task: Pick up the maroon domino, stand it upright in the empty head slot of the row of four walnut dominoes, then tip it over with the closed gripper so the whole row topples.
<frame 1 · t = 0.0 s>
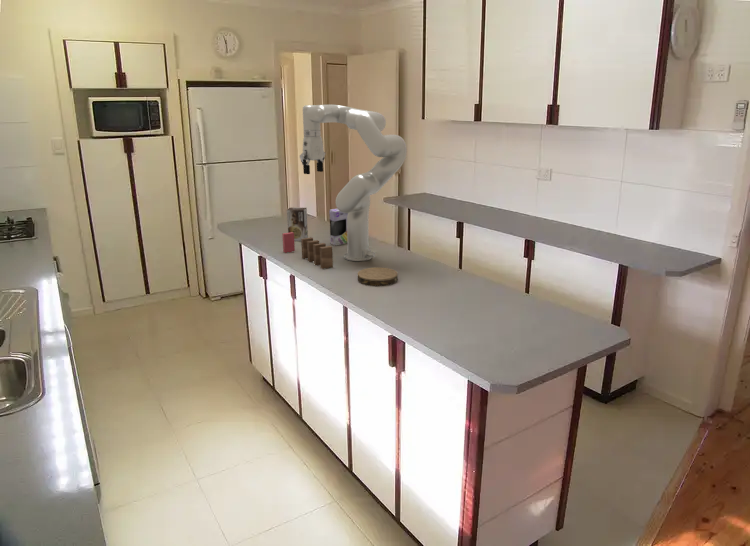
hand: (313, 172, 247), 37 cm above the countertop, tool pointing down, fingers open, 9 cm apart
domino 5: (326, 267, 232), on the countertop
domino 3: (313, 260, 242), on the countertop
domino 4: (320, 264, 237), on the countertop
cake pan box: (346, 242, 273), on the countertop
maroon domino: (289, 251, 256), on the countertop
domino 2: (307, 257, 246), on the countertop
wooden log slice: (377, 280, 216), on the countertop
coffee box: (298, 239, 279), on the countertop
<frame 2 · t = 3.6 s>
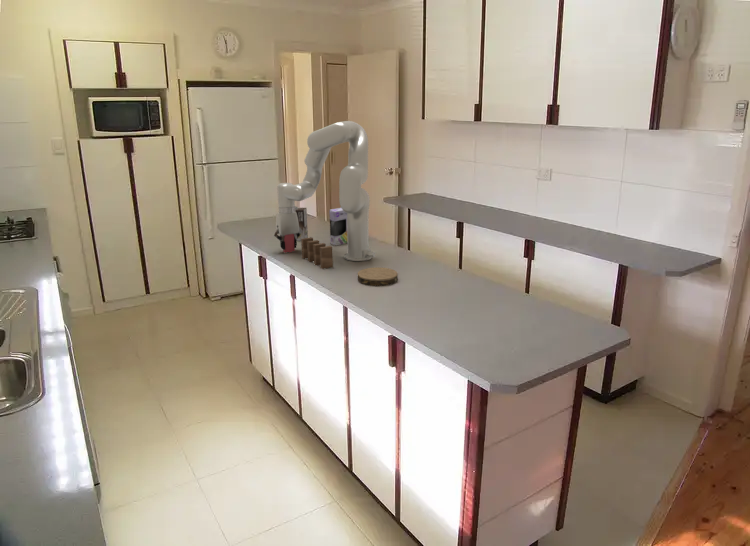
hand: (288, 247, 255), 2 cm above the countertop, tool pointing down, fingers closed on maroon domino, 4 cm apart
maroon domino: (289, 251, 256), on the countertop, touching gripper
everything else where it was.
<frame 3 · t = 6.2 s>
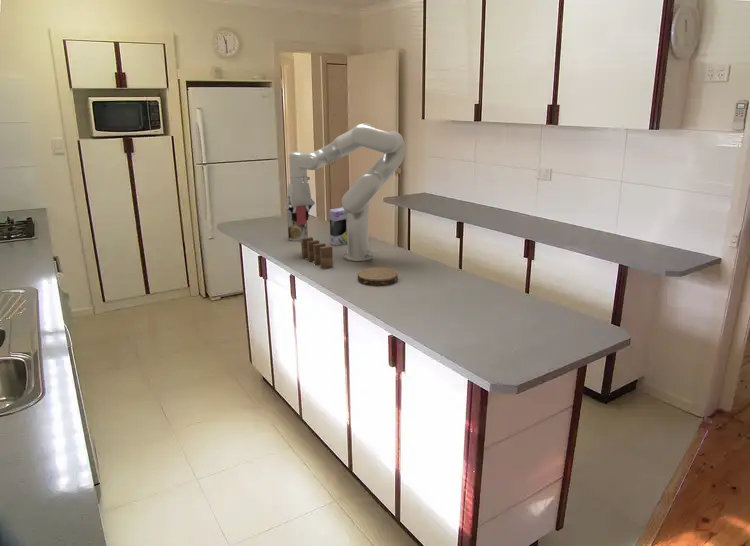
hand: (300, 220, 246), 16 cm above the countertop, tool pointing down, fingers closed on maroon domino, 4 cm apart
maroon domino: (300, 224, 247), point 14 cm above the countertop, touching gripper
everything else where it was.
when the fingers open (3 cm above the countertop, at t = 8.9 s): maroon domino stays where it is, on the countertop.
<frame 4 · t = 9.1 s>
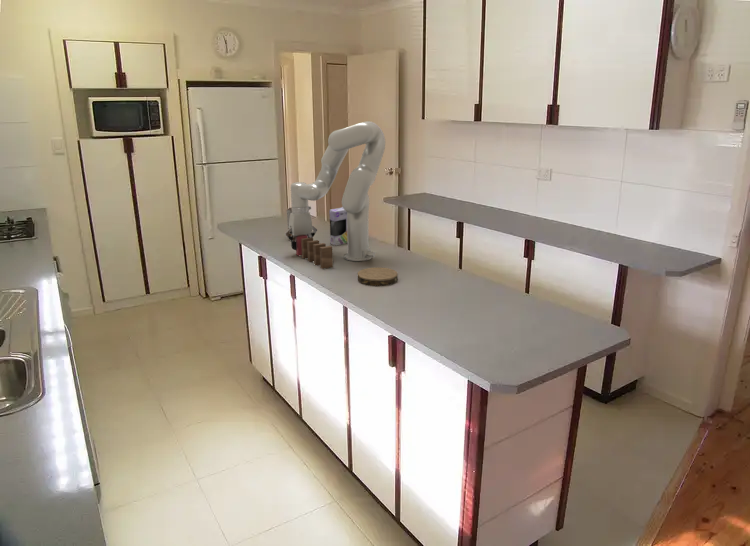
hand: (301, 247, 250), 3 cm above the countertop, tool pointing down, fingers open, 7 cm apart
maroon domino: (302, 254, 251), on the countertop
everything else where it was.
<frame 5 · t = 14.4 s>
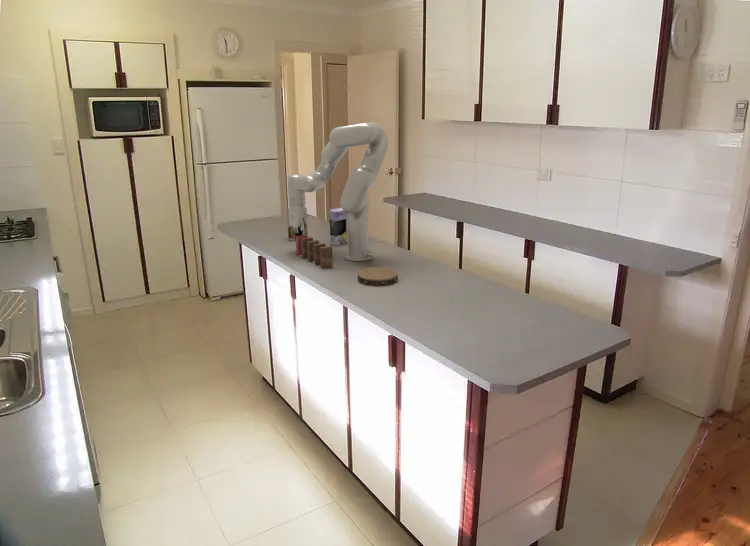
hand: (299, 240, 252), 6 cm above the countertop, tool pointing down, fingers closed
maroon domino: (302, 254, 251), on the countertop, touching gripper
everything else where it was.
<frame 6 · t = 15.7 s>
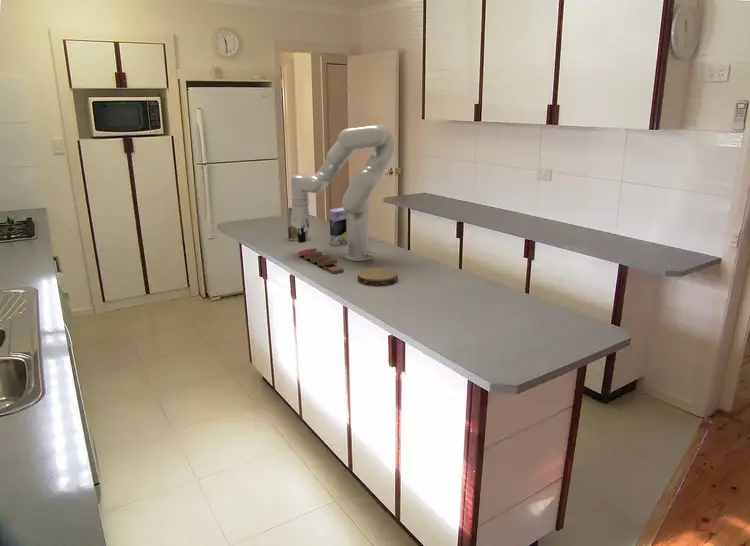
hand: (301, 242, 249), 6 cm above the countertop, tool pointing down, fingers closed
domino 5: (328, 266, 231), point 1 cm above the countertop, tilted 90°, touching domino 4
domino 3: (315, 259, 240), point 1 cm above the countertop, tilted 72°, touching domino 2
domino 4: (322, 263, 235), point 1 cm above the countertop, tilted 72°, touching domino 5
maroon domino: (303, 253, 250), point 1 cm above the countertop, tilted 70°, touching domino 2
domino 2: (309, 256, 245), point 1 cm above the countertop, tilted 71°, touching domino 3, maroon domino
everything else where it was.
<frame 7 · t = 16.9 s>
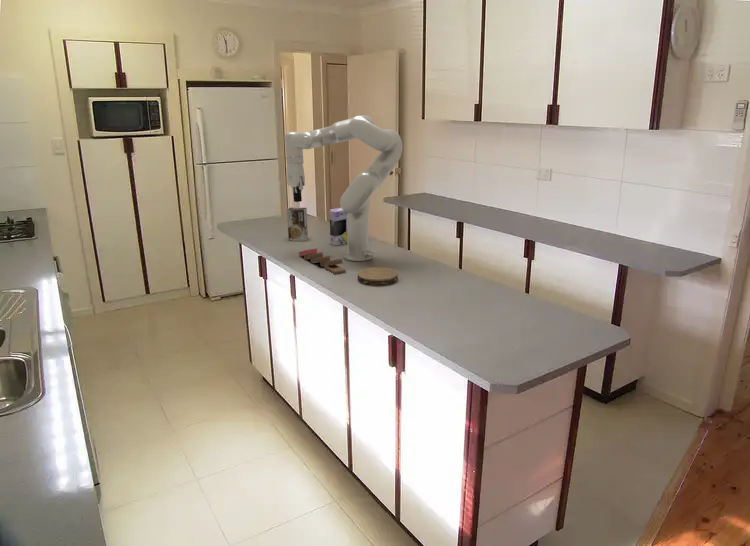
hand: (297, 201, 246), 24 cm above the countertop, tool pointing down, fingers closed
domino 5: (329, 267, 231), on the countertop, tilted 90°
domino 3: (316, 260, 239), point 1 cm above the countertop, tilted 73°, touching domino 4
domino 4: (325, 263, 234), point 1 cm above the countertop, tilted 73°, touching domino 3
domino 2: (309, 256, 245), point 1 cm above the countertop, tilted 73°, touching maroon domino
everything else where it was.
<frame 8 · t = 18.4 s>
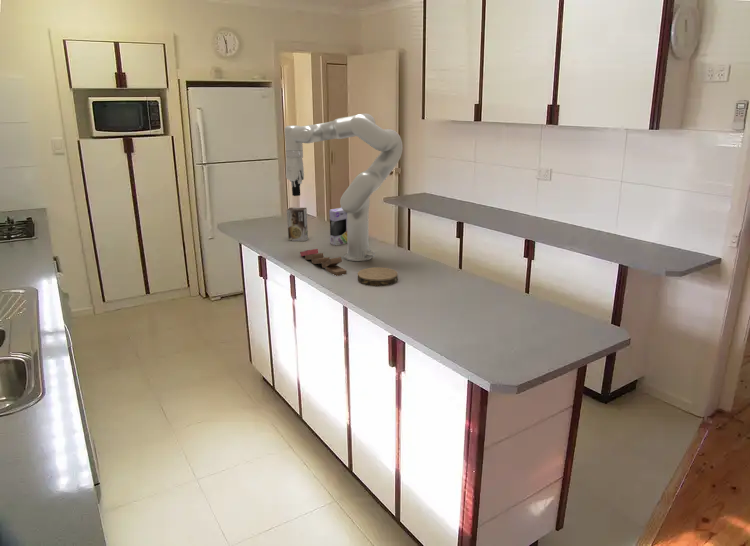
hand: (296, 195, 246), 27 cm above the countertop, tool pointing down, fingers closed
domino 5: (331, 268, 229), point 1 cm above the countertop, tilted 90°
domino 3: (317, 260, 238), point 1 cm above the countertop, tilted 74°
domino 4: (327, 265, 232), point 1 cm above the countertop, tilted 62°
at the end: maroon domino inside the target area (2.3 cm from its centre), point 1.0 cm above the countertop; maroon domino tilted 71°; domino 5 tilted 90° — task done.
